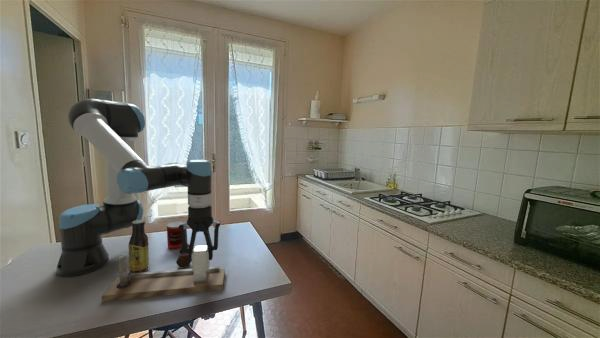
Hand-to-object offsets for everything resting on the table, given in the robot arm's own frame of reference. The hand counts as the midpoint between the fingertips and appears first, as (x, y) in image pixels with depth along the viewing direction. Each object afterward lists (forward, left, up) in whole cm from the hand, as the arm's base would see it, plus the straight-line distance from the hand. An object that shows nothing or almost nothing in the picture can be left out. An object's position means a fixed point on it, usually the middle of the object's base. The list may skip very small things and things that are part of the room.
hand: (201, 268), depth 85 cm
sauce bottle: (-24, +12, -6) cm, 28 cm away
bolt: (-10, +20, -6) cm, 23 cm away
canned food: (-16, +32, -6) cm, 36 cm away
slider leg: (0, 0, -3) cm, 3 cm away
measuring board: (-10, 0, -6) cm, 12 cm away
